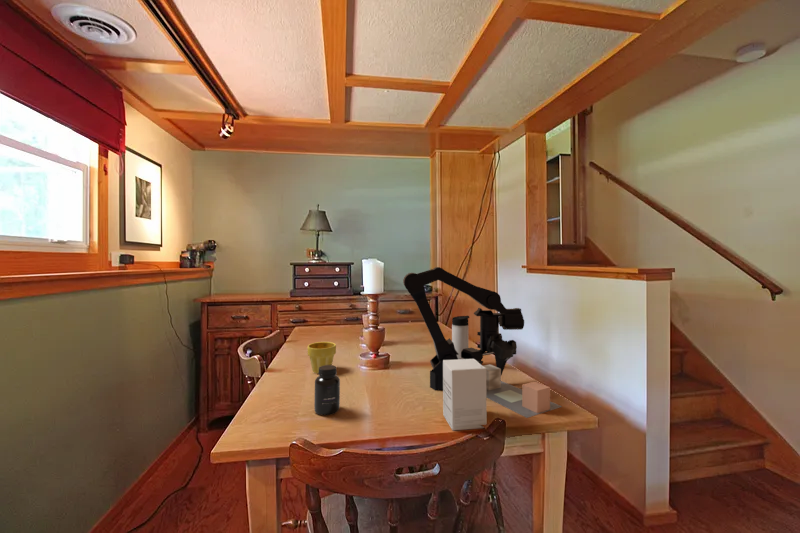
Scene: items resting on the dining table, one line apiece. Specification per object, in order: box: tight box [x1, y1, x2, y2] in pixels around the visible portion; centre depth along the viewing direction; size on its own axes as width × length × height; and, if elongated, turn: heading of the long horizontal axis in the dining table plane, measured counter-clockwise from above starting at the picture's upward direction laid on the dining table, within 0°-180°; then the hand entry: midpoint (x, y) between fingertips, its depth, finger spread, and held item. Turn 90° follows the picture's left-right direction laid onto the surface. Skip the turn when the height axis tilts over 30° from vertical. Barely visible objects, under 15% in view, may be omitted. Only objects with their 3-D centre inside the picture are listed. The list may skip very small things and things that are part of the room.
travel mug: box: [451, 315, 470, 359], centre depth 131 cm, size 6×7×20 cm
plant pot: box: [307, 341, 337, 374], centre depth 127 cm, size 10×10×10 cm
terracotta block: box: [521, 381, 551, 413], centre depth 93 cm, size 5×5×6 cm
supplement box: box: [442, 359, 488, 431], centre depth 87 cm, size 9×9×15 cm
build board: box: [486, 380, 563, 419], centre depth 101 cm, size 14×24×1 cm, turn 29°
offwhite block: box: [483, 364, 502, 390], centre depth 109 cm, size 5×5×6 cm
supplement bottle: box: [313, 364, 341, 416], centre depth 93 cm, size 7×7×12 cm
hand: (489, 378), depth 109 cm, fingers open, 9 cm apart
